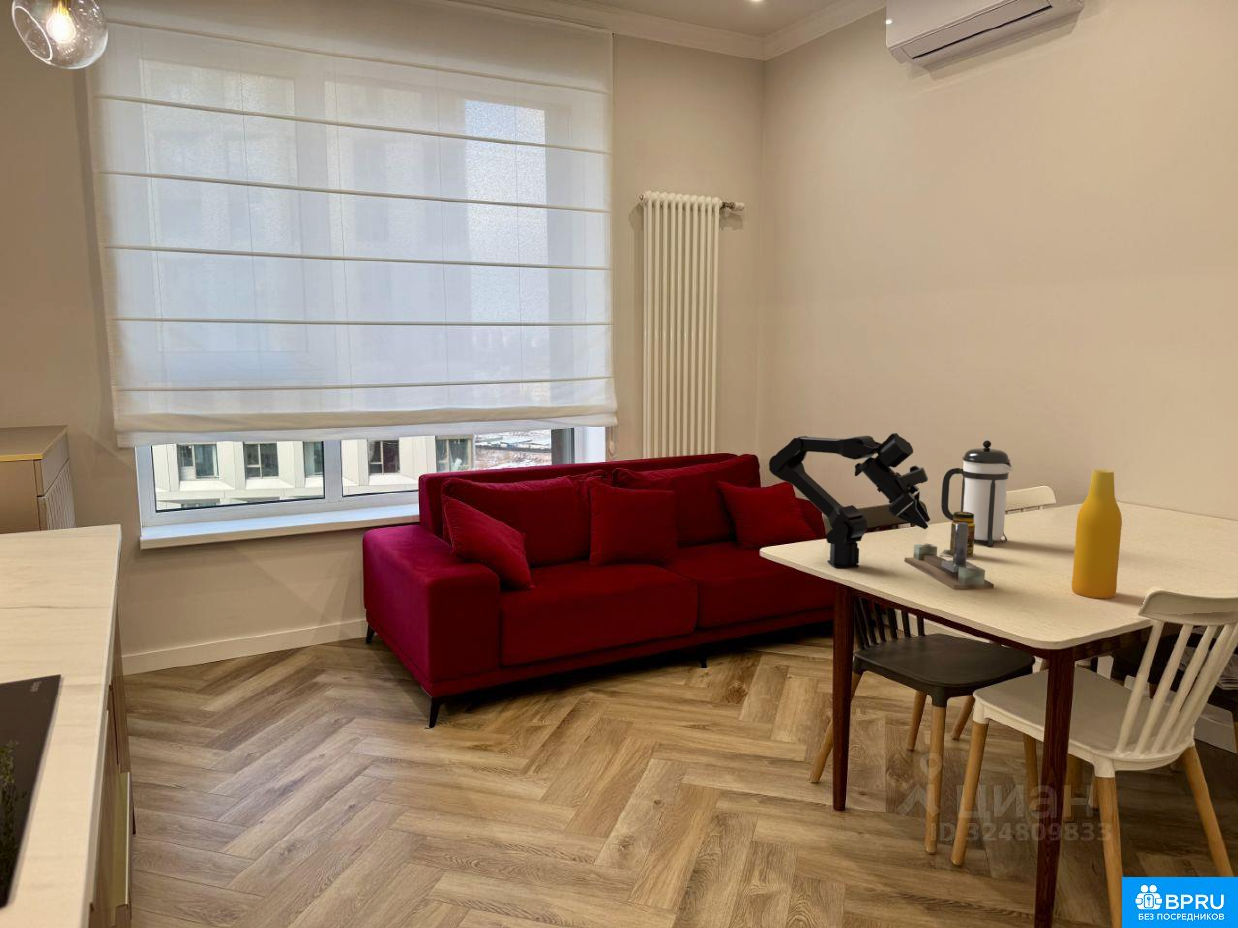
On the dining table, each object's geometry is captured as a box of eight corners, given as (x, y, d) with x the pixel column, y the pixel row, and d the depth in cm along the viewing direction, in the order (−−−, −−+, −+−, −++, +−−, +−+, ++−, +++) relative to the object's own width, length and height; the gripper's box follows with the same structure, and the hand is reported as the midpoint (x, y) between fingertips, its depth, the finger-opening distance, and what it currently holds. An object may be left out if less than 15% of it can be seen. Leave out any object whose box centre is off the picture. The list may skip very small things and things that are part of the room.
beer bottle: (1101, 587, 210) (1111, 468, 206) (1124, 599, 201) (1135, 474, 197) (1063, 588, 210) (1072, 468, 206) (1084, 599, 201) (1095, 474, 197)
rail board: (954, 589, 208) (955, 569, 208) (904, 561, 235) (905, 543, 234) (993, 588, 210) (995, 568, 209) (939, 560, 236) (940, 542, 235)
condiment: (972, 559, 237) (975, 516, 236) (939, 555, 241) (942, 513, 240) (976, 554, 244) (978, 511, 242) (944, 550, 248) (946, 508, 246)
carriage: (953, 572, 213) (956, 526, 211) (941, 566, 219) (944, 521, 217) (976, 571, 213) (979, 525, 212) (964, 565, 219) (967, 520, 218)
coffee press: (997, 535, 267) (1004, 437, 263) (1015, 547, 251) (1023, 443, 247) (938, 534, 269) (944, 436, 264) (953, 546, 253) (959, 442, 249)
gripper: (905, 460, 209) (952, 510, 206) (911, 452, 226) (955, 497, 223) (870, 491, 213) (915, 539, 210) (878, 480, 230) (920, 525, 227)
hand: (927, 524), depth 217 cm, fingers open, 9 cm apart
